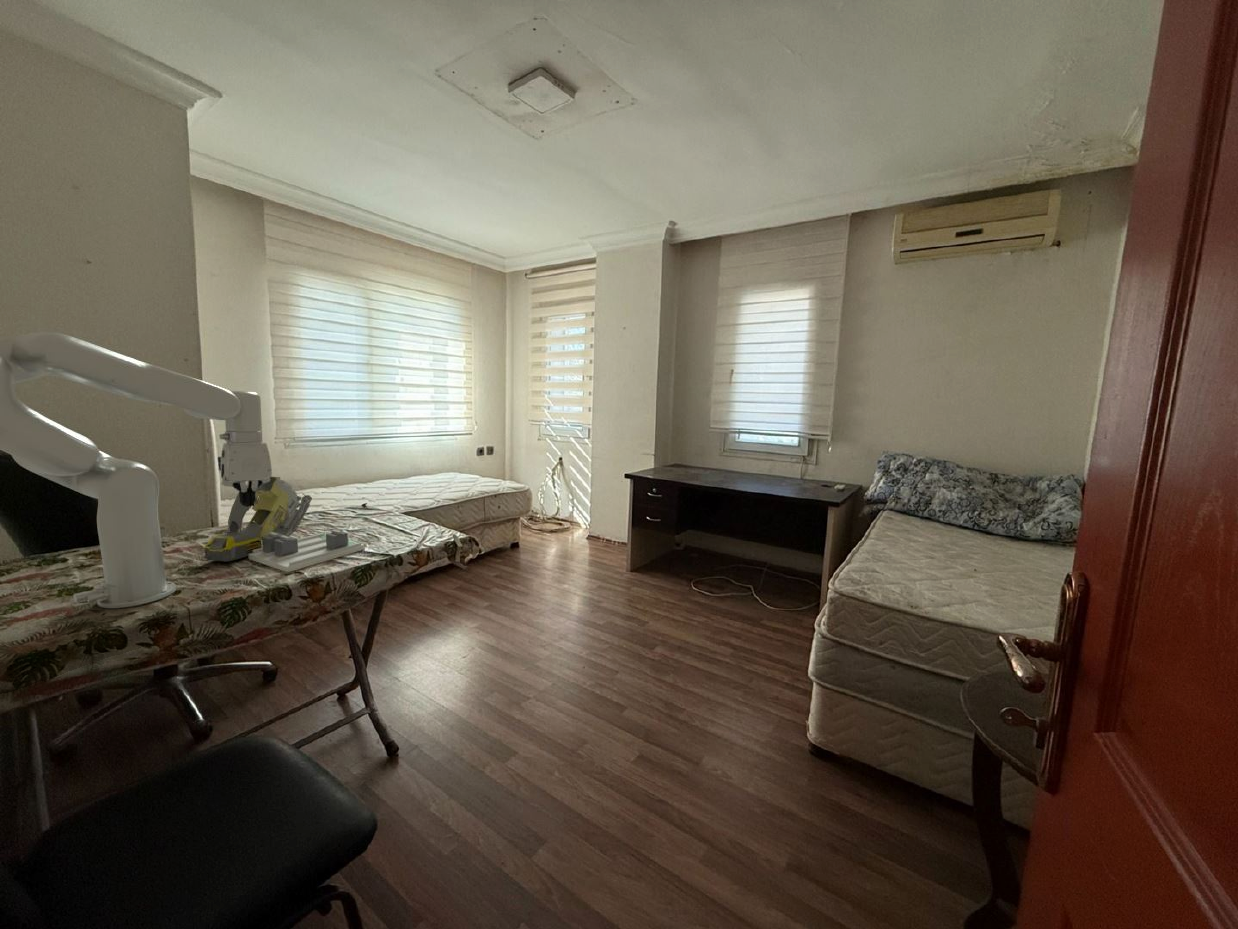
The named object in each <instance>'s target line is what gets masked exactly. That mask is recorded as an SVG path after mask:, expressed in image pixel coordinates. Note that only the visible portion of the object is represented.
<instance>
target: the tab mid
mask: <svg viewBox="0 0 1238 929" xmlns="http://www.w3.org/2000/svg"><path fill="white" fill-rule="evenodd" d="M297 539H298V538H297V537H296V538H295V537H291V536H289V537H288V536H285V535H283V536H280V539H276V540H274V550H275V556H278V557H282V556H286V555H290V554H293V553H297V552H298V542H297Z"/></svg>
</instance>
